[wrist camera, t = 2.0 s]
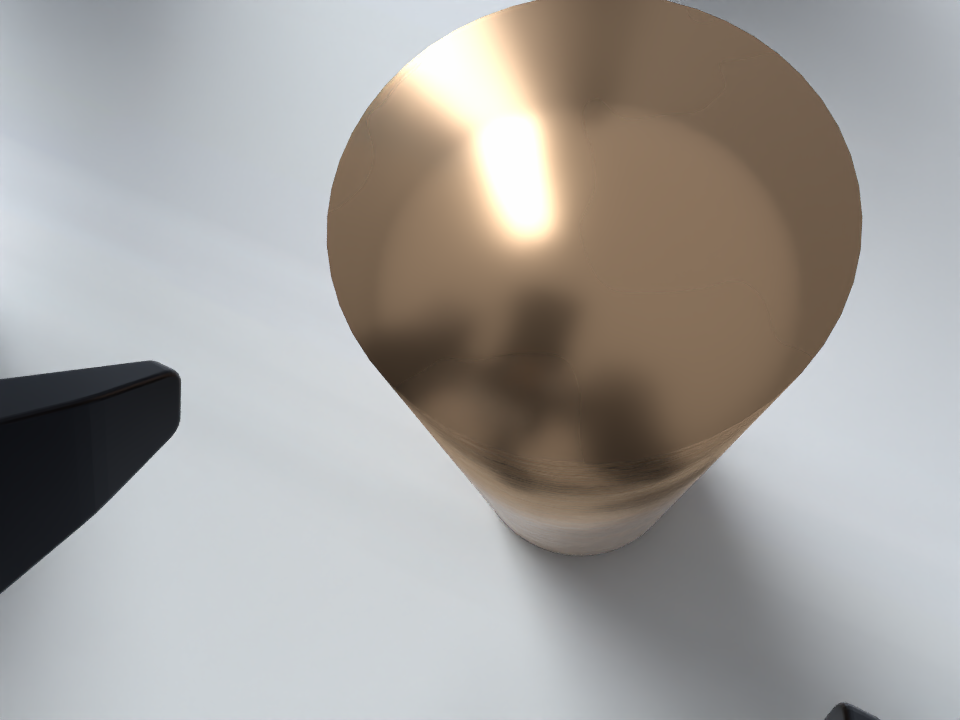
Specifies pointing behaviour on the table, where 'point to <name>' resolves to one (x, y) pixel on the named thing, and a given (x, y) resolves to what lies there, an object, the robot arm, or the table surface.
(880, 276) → the table surface
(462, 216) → the can
